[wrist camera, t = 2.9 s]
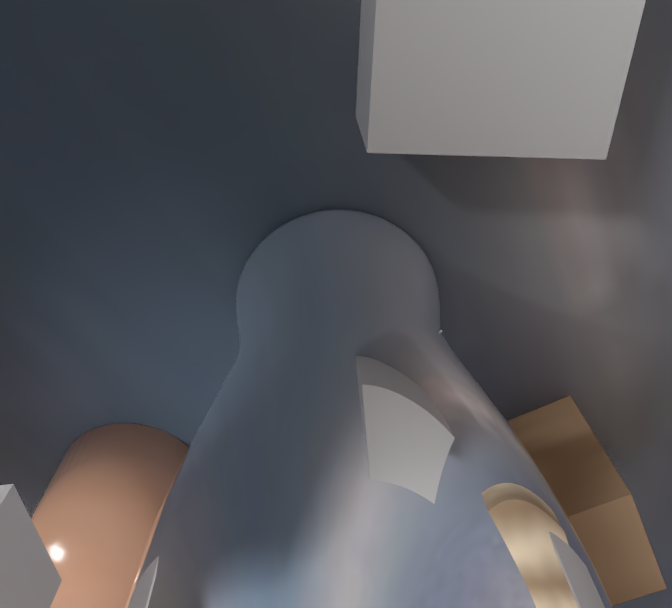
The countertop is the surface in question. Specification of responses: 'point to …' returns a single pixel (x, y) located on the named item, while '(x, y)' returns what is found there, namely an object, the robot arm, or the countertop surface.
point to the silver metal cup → (355, 452)
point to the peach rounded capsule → (105, 510)
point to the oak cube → (592, 498)
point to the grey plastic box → (493, 76)
